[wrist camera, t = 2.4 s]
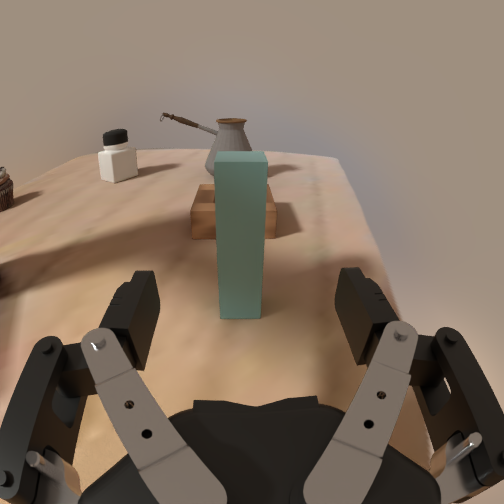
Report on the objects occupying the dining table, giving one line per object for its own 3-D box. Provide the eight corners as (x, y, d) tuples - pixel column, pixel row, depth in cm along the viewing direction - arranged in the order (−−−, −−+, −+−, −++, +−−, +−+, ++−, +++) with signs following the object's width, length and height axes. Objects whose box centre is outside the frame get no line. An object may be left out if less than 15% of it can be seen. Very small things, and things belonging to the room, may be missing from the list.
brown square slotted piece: (192, 238, 39) (190, 211, 37) (201, 207, 48) (200, 184, 46) (275, 238, 40) (276, 210, 38) (267, 207, 49) (268, 184, 47)
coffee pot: (257, 170, 69) (259, 108, 62) (256, 184, 59) (258, 111, 52) (170, 170, 70) (167, 111, 62) (156, 184, 60) (151, 115, 52)
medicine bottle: (138, 175, 66) (134, 127, 60) (114, 183, 61) (108, 133, 55) (124, 172, 70) (119, 127, 64) (100, 180, 65) (95, 133, 59)
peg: (220, 318, 26) (214, 161, 19) (221, 293, 29) (217, 151, 22) (260, 318, 26) (267, 162, 19) (257, 293, 30) (263, 151, 22)
